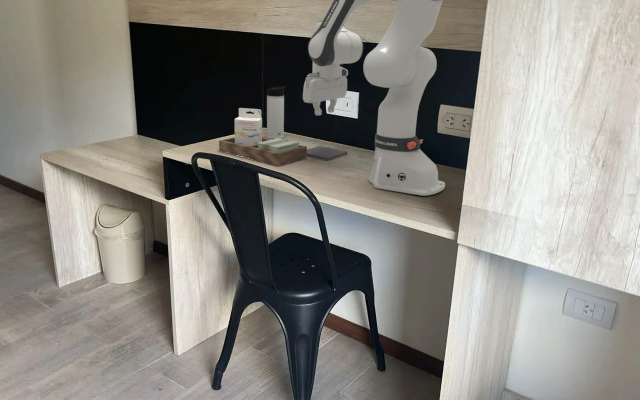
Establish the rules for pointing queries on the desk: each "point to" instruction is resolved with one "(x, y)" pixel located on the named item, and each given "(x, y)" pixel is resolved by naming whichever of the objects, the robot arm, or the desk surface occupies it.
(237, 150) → the wooden tray
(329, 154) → the mat
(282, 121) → the travel mug
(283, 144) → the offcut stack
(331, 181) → the desk surface
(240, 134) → the ink cartridge box
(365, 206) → the desk surface
